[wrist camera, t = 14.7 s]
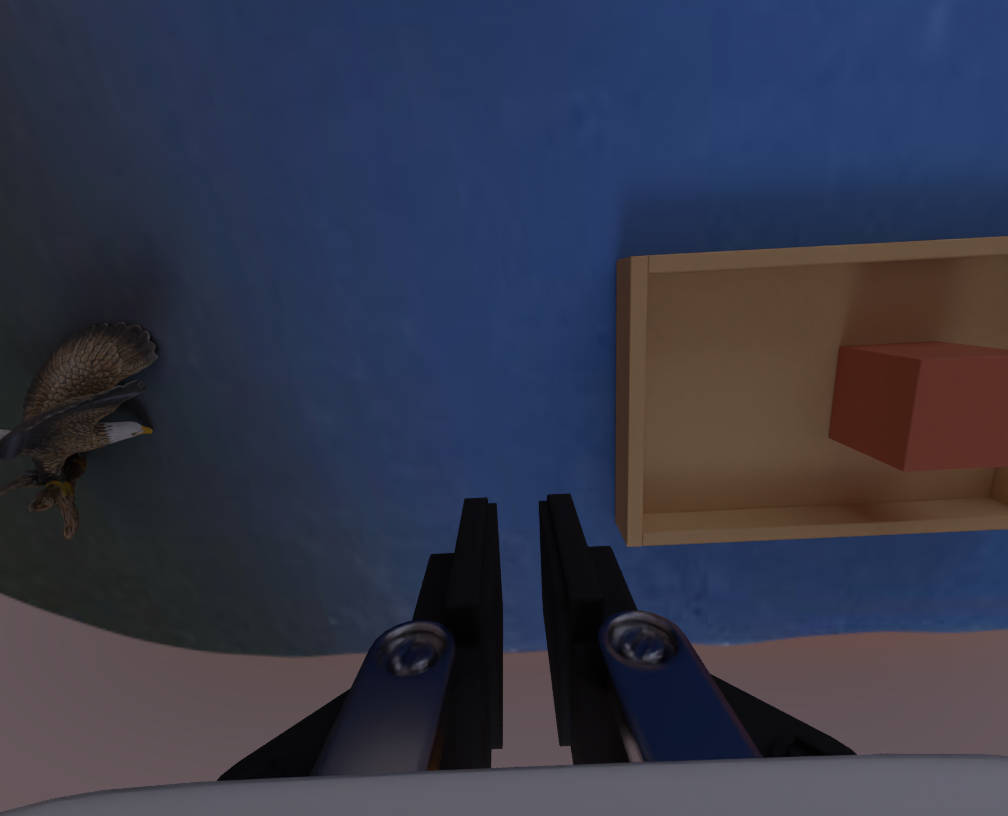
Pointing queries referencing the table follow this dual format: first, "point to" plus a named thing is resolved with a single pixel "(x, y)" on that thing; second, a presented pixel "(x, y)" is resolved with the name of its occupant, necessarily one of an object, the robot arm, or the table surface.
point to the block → (923, 404)
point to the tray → (787, 389)
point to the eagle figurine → (76, 411)
